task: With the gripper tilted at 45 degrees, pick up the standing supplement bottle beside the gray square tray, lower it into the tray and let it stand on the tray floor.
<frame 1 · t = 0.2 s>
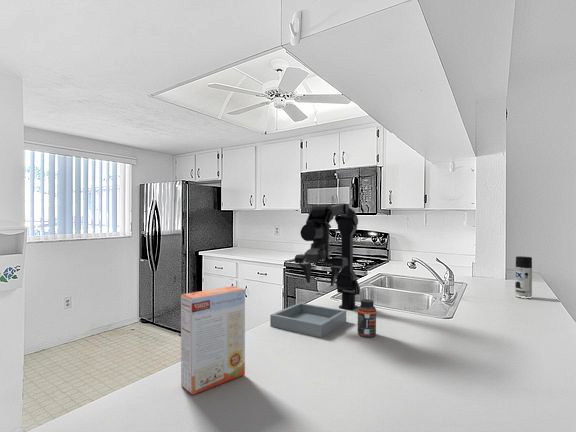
hand: (320, 284, 118), 14 cm above the counter, tool pointing down, fingers open, 9 cm apart
supplement bottle: (366, 335, 109), on the counter
gray square tray: (309, 323, 120), on the counter
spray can: (523, 297, 164), on the counter
cracker box: (213, 381, 77), on the counter
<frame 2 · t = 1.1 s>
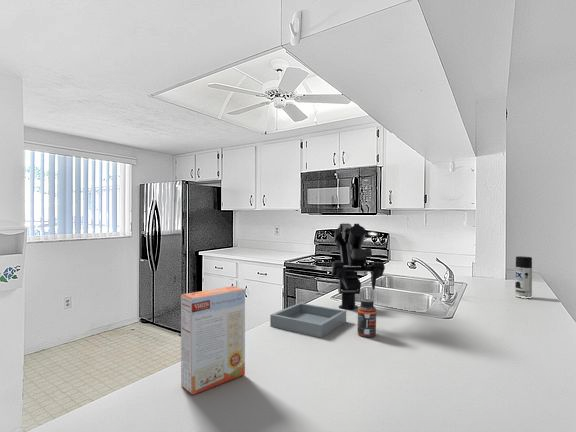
hand: (360, 289, 117), 13 cm above the counter, tool tilted 45°, fingers open, 9 cm apart
nothing on the counter moved.
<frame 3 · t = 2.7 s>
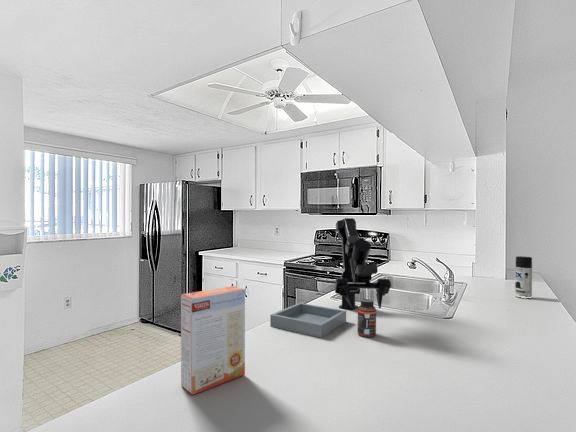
hand: (366, 307, 110), 9 cm above the counter, tool tilted 45°, fingers open, 9 cm apart
nothing on the counter moved.
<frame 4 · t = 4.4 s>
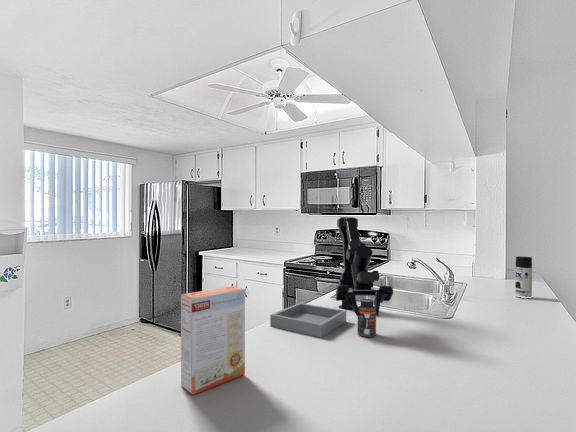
hand: (367, 315, 108), 7 cm above the counter, tool tilted 45°, fingers closed on supplement bottle, 6 cm apart
supplement bottle: (366, 335, 109), on the counter, touching gripper
everything else where it was.
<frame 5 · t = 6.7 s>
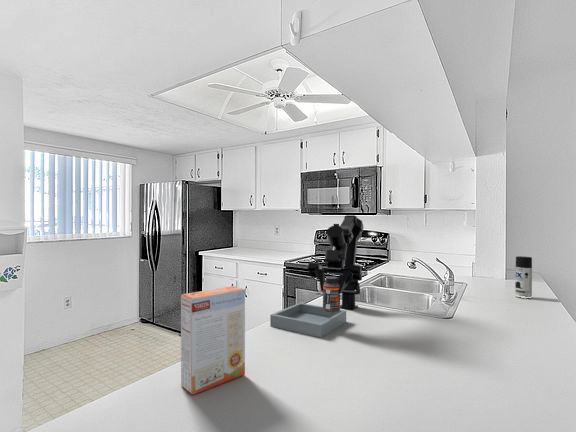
hand: (330, 291, 112), 13 cm above the counter, tool tilted 45°, fingers closed on supplement bottle, 6 cm apart
supplement bottle: (331, 310, 114), point 6 cm above the counter, touching gripper
everything else where it was.
when the fingers open (9 cm above the counter, at t = 9.4 s): supplement bottle drops 1 cm, resting on gray square tray.
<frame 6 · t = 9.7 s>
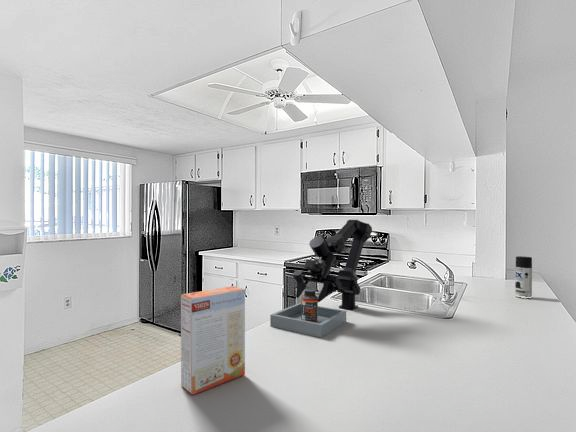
hand: (307, 299, 119), 9 cm above the counter, tool tilted 45°, fingers open, 9 cm apart
supplement bottle: (309, 322, 120), point 1 cm above the counter, touching gray square tray
everything else where it was.
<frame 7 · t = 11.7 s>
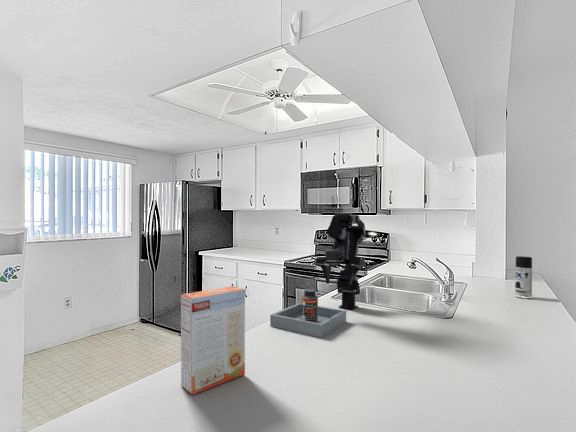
hand: (338, 284, 126), 13 cm above the counter, tool tilted 15°, fingers open, 9 cm apart
nothing on the counter moved.
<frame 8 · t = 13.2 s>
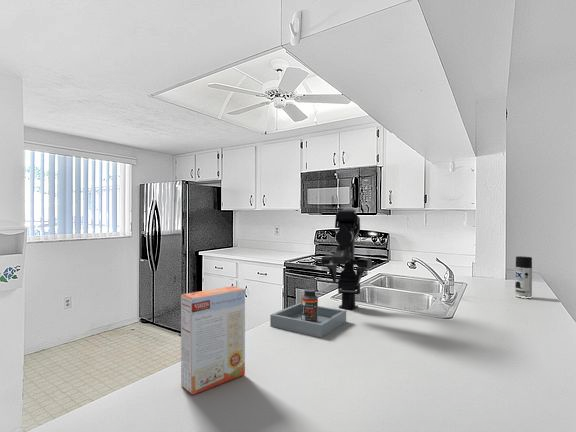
hand: (345, 284, 127), 13 cm above the counter, tool pointing down, fingers open, 9 cm apart
nothing on the counter moved.
at the end: supplement bottle inside the target area on the gray square tray (0.1 cm from its centre), point 0.6 cm above the gray square tray's base; supplement bottle tilted 0°; the gripper is holding nothing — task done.
